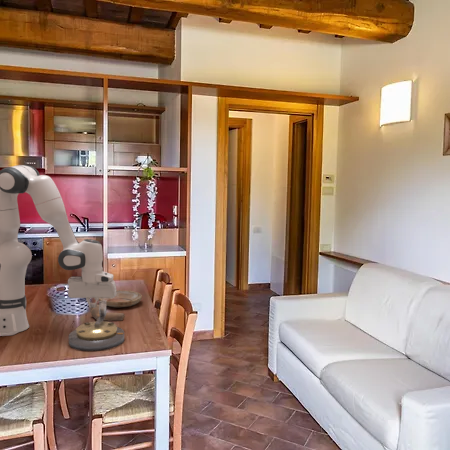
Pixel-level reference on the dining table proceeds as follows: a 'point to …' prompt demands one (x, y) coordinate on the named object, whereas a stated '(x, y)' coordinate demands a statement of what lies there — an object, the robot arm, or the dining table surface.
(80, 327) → the round gold-topped disc
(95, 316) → the pipe
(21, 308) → the robot arm
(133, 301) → the ceramic bowl
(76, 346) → the disc
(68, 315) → the dining table surface
